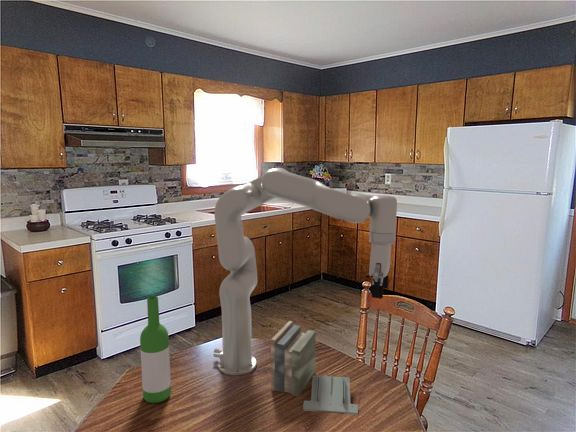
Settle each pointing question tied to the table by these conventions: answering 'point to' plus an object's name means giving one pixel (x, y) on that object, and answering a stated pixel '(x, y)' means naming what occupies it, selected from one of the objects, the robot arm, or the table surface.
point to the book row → (292, 359)
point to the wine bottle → (155, 356)
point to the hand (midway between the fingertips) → (379, 292)
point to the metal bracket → (330, 395)
